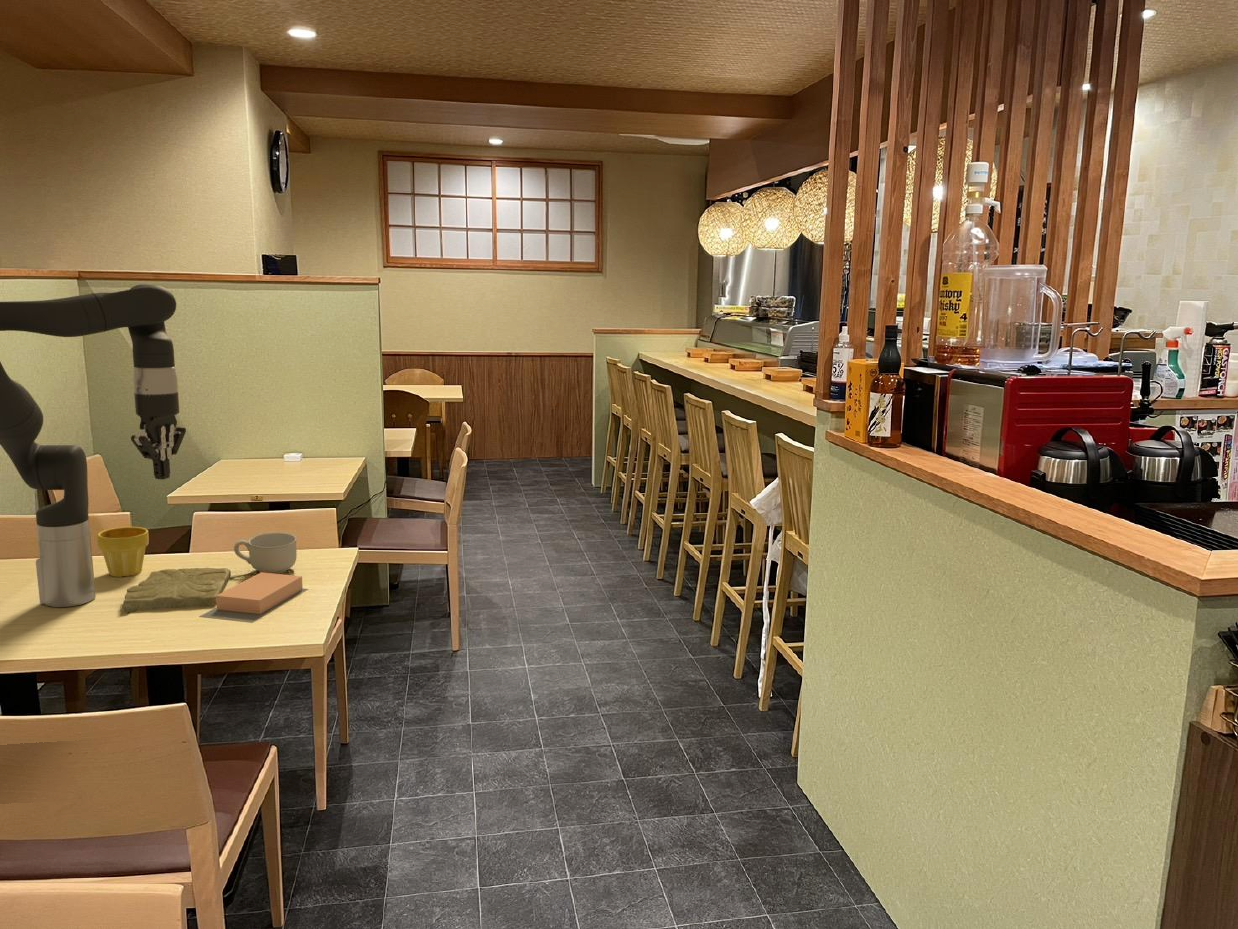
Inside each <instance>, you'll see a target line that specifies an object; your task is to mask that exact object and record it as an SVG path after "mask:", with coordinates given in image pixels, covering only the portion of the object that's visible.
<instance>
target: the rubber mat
mask: <svg viewBox="0 0 1238 929" xmlns="http://www.w3.org/2000/svg"><path fill="white" fill-rule="evenodd" d="M308 590H309V589H308V588H303V589H302V590H301V591H299V592H297V593H295V594H294V595H292V596H290V597H289V598H287V599H285V600H284V601H282V602H280V603H279V604H277V605H275V606H273V607H272V608H270V609H268V610H267V611H265V612H263V613H262V614H254V613H245V612H235V611H226V610H217V606H215V607H214V608H213V609H211V610H208V611H207V612H205V613H203V614H201V615H199V618H205V619H206V618H207V619H215V620H216V619H218V620H225V621H233V622H241V623H243V622H244V623H251V624H252V623H253V624H254V623H255V622H257V621H258V620H260V619H261V618H263V617H265V616H266V615H268V614H270V613H272V612H274V611H275V610H276V609H278V608H280V607H281V606H283V605H284V604H286V603H288V602H289V601H291V600H293V599H294V598H296V597H298V596H300V595H301V594H303V593H305V592H306V591H308Z"/></svg>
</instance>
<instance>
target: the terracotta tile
mask: <svg viewBox="0 0 1238 929" xmlns="http://www.w3.org/2000/svg"><path fill="white" fill-rule="evenodd" d="M302 589H304V588H303V576H301V575H291V574H284V573H281V574H273V573H263V572H261V573H260V572H258V573H257V574H256V575H253V576H251V577H250V578H248V579H246V580H244V581H242V582H240V583H238V584H236V585H234V586H232V587H230V588H228V589H225V590H224V591H223V592H222V593H220V594H218V595H216V607H217V610H226V611H235V612H245V613H254V614H262V613H263V612H265V611H267V610H268V609H270V608H272V607H273V606H275V605H277V604H279V603H280V602H282V601H284V600H285V599H287V598H289V597H290V596H292V595H294V594H295V593H297V592H299V591H301V590H302Z"/></svg>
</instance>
